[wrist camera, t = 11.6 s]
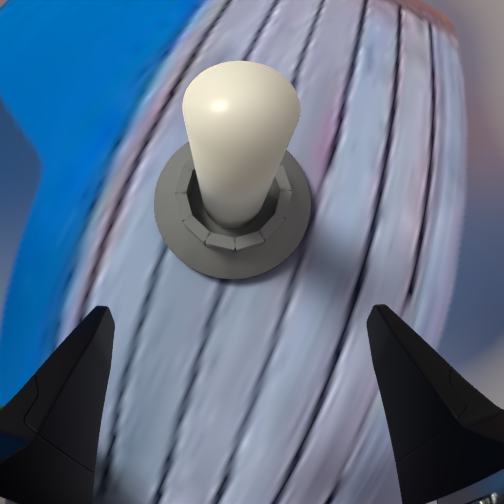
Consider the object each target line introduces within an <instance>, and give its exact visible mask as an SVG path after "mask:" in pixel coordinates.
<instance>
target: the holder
mask: <svg viewBox="0 0 504 504" xmlns="http://www.w3.org/2000/svg"><path fill="white" fill-rule="evenodd" d="M310 210H311V197H310V191H309V186H308V183H307V180H306V177H305V175H304V173H303V170H302V169H301V167H300V165H299V164H298V162H297V161H296V160H295V158H294V157H293V156H292V155H291V154H290V153H289V152H288V151H287V150H286V151H285V154H284V156H283V158H282V161H281V163H280V165H279V168H278V170H277V172H276V175H275V177H274V179H273V182H272V184H271V186H270V189H269V191H268V193H267V196H266V198H265V201H264V203H263V205H262V208H261V210H260V212H259V214H258V216H257V217H256V219H255V220H254V221H253V222H251V223H250V224H249V225H247V226H245V227H242V228H238V229H228V228H224V227H221V226H219V225H217V224H215V223H214V222H213V221H212V220H211V219H210V218H209V217H208V215H207V213H206V211H205V209H204V204H203V200H202V196H201V192H200V187H199V183H198V179H197V174H196V170H195V166H194V161H193V157H192V152H191V148H190V143H189V142H187V143H186V144H185V145H183V146H182V147H181V148H180V149H178V150H177V151H176V152H175V153H174V155H173V156H172V157H171V158H170V159H169V161H168V162H167V163H166V165H165V167H164V168H163V170H162V172H161V174H160V177H159V179H158V182H157V186H156V190H155V197H154V212H155V218H156V222H157V225H158V228H159V231H160V233H161V235H162V238H163V240H164V241H165V243H166V244H167V246H168V247H169V249H170V250H171V251H172V252H173V253H174V254H175V255H176V256H177V257H178V258H179V259H180V260H181V261H182V262H184V263H185V264H186V265H188V266H189V267H191V268H192V269H194V270H196V271H198V272H200V273H202V274H205V275H208V276H211V277H215V278H221V279H244V278H249V277H253V276H257V275H259V274H262V273H265V272H267V271H269V270H270V269H272V268H274V267H276V266H277V265H279V264H280V263H281V262H283V261H284V260H285V259H286V258H287V257H288V256H289V255H290V254H291V253H292V252H293V251H294V250H295V248H296V247H297V246H298V245H299V243H300V241H301V239H302V238H303V236H304V233H305V231H306V229H307V226H308V222H309V218H310Z"/></svg>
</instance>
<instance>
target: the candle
mask: <svg viewBox="0 0 504 504" xmlns="http://www.w3.org/2000/svg"><path fill="white" fill-rule="evenodd" d="M183 115H184V120H185V125H186V130H187V134H188V139H189V143H190V148H191V152H192V157H193V161H194V166H195V170H196V174H197V179H198V183H199V187H200V192H201V196H202V200H203V204H204V209H205V211H206V213H207V215H208V217H209V218H210V219H211V220H212V221H213V222H214V223H215V224H217V225H219V226H221V227H224V228H228V229H238V228H242V227H245V226H247V225H249V224H250V223H251V222H253V221H254V220H255V219H256V217H257V216H258V214H259V212H260V210H261V208H262V205H263V203H264V201H265V198H266V196H267V193H268V191H269V189H270V186H271V184H272V182H273V179H274V177H275V175H276V172H277V170H278V168H279V165H280V163H281V161H282V158H283V156H284V154H285V151H286V149H287V147H288V144H289V142H290V140H291V137H292V135H293V133H294V130H295V128H296V126H297V123H298V120H299V117H300V102H299V98H298V95H297V93H296V91H295V89H294V87H293V86H292V85H291V83H290V82H289V81H288V80H287V79H286V78H285V77H284V76H283V75H281V74H280V73H279V72H277V71H276V70H274V69H272V68H270V67H268V66H265V65H263V64H259V63H255V62H249V61H230V62H225V63H221V64H218V65H215V66H212V67H210V68H208V69H206V70H205V71H203V72H202V73H200V74H199V75H198V76H197V77H196V78H195V79H194V80H193V81H192V82H191V83H190V85H189V86H188V88H187V90H186V92H185V95H184V98H183Z"/></svg>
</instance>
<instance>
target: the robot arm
mask: <svg viewBox="0 0 504 504" xmlns="http://www.w3.org/2000/svg"><path fill="white" fill-rule="evenodd" d="M114 331H115V323H114V320H113V317H112V315H111V312H110V309H109V308H108V307H107V306H96V307H95V308H94V309H93V310H92V311H91V312H90V313H89V314H88V315H87V316H86V317H85V318H84V319H83V320H82V321H81V323H80V324H79V325H78V326H77V327H76V328H75V329H74V330H73V331H72V332H71V333H70V334H69V335H68V337H67V338H66V339H65V340H64V341H63V342H62V343H61V344H60V345H59V346H58V348H57V349H56V350H55V351H54V352H53V353H52V354H51V355H50V357H49V358H48V359H47V360H46V361H45V362H44V363H43V365H42V366H41V367H40V368H39V369H38V370H37V372H36V373H35V374H34V375H33V376H32V377H31V378H30V380H29V381H28V382H27V383H26V384H25V385H24V386H23V388H22V389H21V390H20V391H19V392H18V393H17V394H16V395H15V396H14V397H13V398H12V399H11V400H10V401H9V402H8V403H7V404H6V405H5V406H4V407H3V408H2V409H1V410H0V504H92V499H93V486H94V475H95V474H94V473H95V464H96V455H97V447H98V440H99V433H100V426H101V419H102V413H103V407H104V401H105V395H106V390H107V384H108V379H109V374H110V368H111V360H112V349H113V339H114ZM367 331H368V337H369V343H370V349H371V356H372V362H373V366H374V370H375V374H376V378H377V382H378V386H379V390H380V394H381V398H382V402H383V406H384V410H385V415H386V419H387V423H388V428H389V433H390V437H391V442H392V447H393V452H394V457H395V462H396V468H397V474H398V479H399V485H400V491H401V497H402V504H426V503H429V502H431V501H434V500H437V504H504V410H503V409H501V408H499V407H498V406H496V405H495V404H493V403H492V402H491V401H490V400H489V399H488V398H486V397H485V396H484V395H483V394H481V393H480V392H479V391H478V390H477V389H475V388H474V387H473V386H472V385H471V384H470V383H469V382H467V381H466V380H465V379H464V378H463V377H462V376H461V375H460V374H459V373H458V372H457V371H456V370H455V369H454V368H453V367H451V366H450V365H449V364H448V363H447V362H446V361H445V360H444V359H443V358H442V357H441V356H440V355H439V354H438V353H437V352H436V351H435V350H434V349H433V348H432V347H431V346H430V345H429V344H428V343H427V342H426V341H424V340H423V339H422V338H421V337H420V336H419V335H418V334H417V333H416V332H415V331H414V330H413V329H412V328H411V327H410V326H408V325H407V324H406V323H405V322H404V321H403V320H402V319H401V318H400V317H399V316H398V315H397V314H395V313H394V312H393V311H392V310H391V309H390V308H389V307H388V306H387V305H385V304H380V305H375V306H373V308H372V310H371V313H370V315H369V317H368V319H367Z"/></svg>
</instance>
